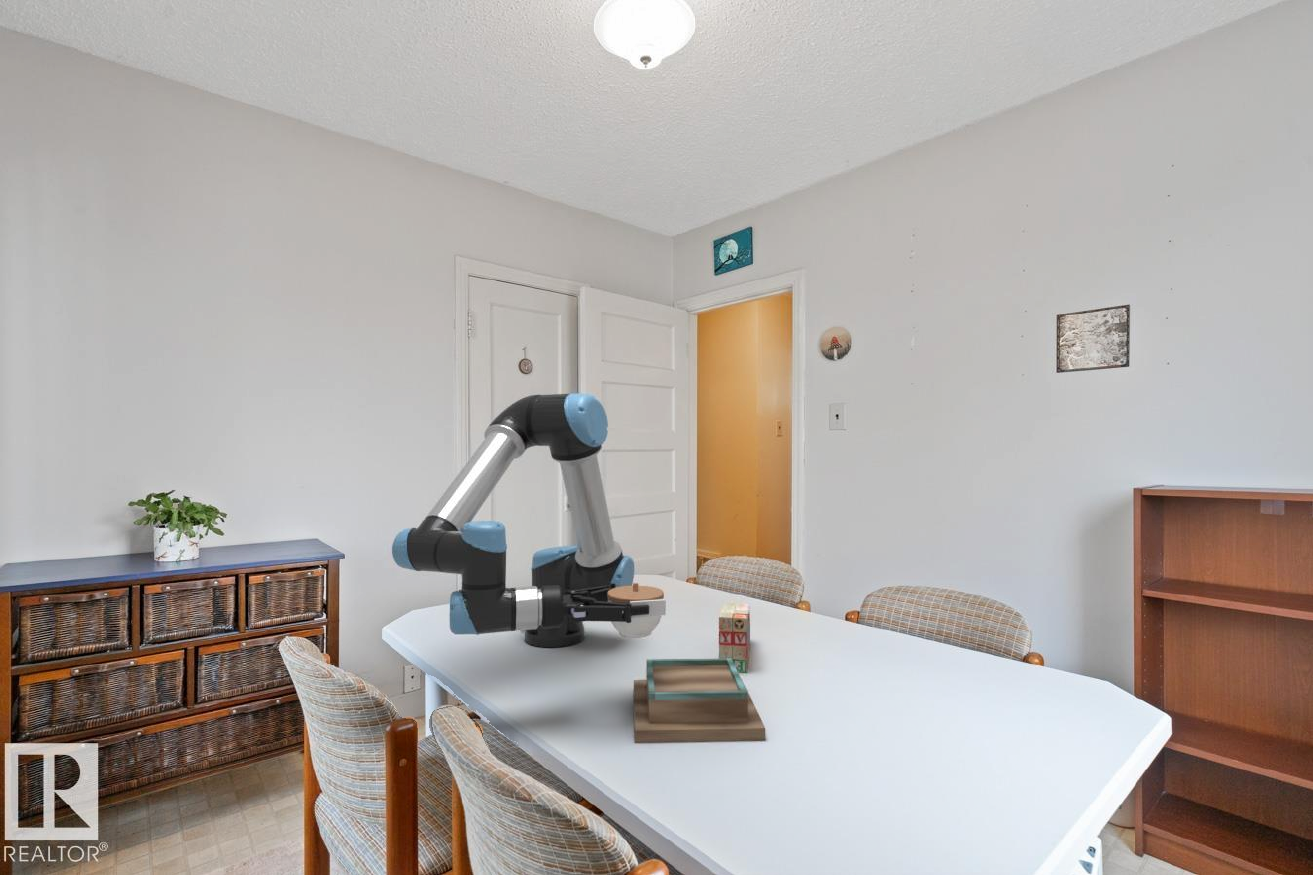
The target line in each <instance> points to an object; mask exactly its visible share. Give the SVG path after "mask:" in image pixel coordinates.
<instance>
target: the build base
mask: <svg viewBox="0 0 1313 875" xmlns="http://www.w3.org/2000/svg"><path fill="white" fill-rule="evenodd" d="M645 665H646V670H645V672H646V676H645V677H646V679H634V680H633V716H634V717H633V719H634V720H633V722H634V723H633V724H634V725H633V726H634V727H633V728H634V729H633V730H634V743H635V744H636V743H639V744H641V743H643V744H644V743H676V742H678V743H684V742H685V743H690V742H692V743H693V742H696V743H697V742H736V741H737V742H740V741H743V742H744V741H766V727H765V725H764V722H763V721H762V718H761V717H760V715H759V711H758V710H757V708H756V705H755V704H754V702H753V699H752V697H751V695H750V694H749V691H748V690H747V687H746V685H745V683H744V681H743V678H742V677H741V675H740V673H738V671H737V669H736V667H735V665H734V663H733V661H732V659H731V658H722V659H719V658H666V659H665V658H663V659H662V658H659V659H658V658H656V659H646V663H645Z"/></svg>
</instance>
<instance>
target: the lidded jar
mask: <svg viewBox="0 0 1313 875" xmlns="http://www.w3.org/2000/svg"><path fill="white" fill-rule="evenodd" d="M664 597H665V592H664V591H663V589H660V588H657V587H654V586H649V585H639V582H633V584H632V586H622V587H617V588H613V589H611V590H609V591H608V592H607V598H608V602H617V603H629V604H630V601H644V600H658V599H665V598H664ZM622 613H623V611H622ZM662 616H663V615H659V616H645V617H632V618H631V623H627V622H611V624H612V627H614V629H615V630H616V631H617V632H618V633H619V635H620V636H622V637H624V638H629V639H630V638H631V639H632V638H634V639H638V638H639V639H641V638H645V637H649V636H651V635H652V632H653V631H654V630H655V629H656V628H657V627H658V625H659V624H660V621H661V619H662Z"/></svg>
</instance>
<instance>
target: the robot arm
mask: <svg viewBox="0 0 1313 875" xmlns="http://www.w3.org/2000/svg"><path fill="white" fill-rule="evenodd" d="M608 427H609V423H608V417H607V413H606V410H605V408H604V405H603V404H602V403H601V401H600V400H599V399H598V398H596V397H595V396H594V395H592V394H589V393H579V392H572V393H559V394H558V393H554V394H532V395H531V394H530V395H529V396H524V397H522V398H520V399H518V400H517V401H515V402H514V403H512V404H510V405H509V406H507V407H506V408H505V409H504V410H502V412H500V413H499V414H498V415H497V416H496V417H495V418H494V420H492V422H491V423H490V424H489V425H488V427H487V428H486V429H485V431H484V440H483V441H482V442H481V444H480V445H479V446H478V448H477V449H476V450H475V451H474V453H473V455H472V456H471V457H470V458H469V459H468V461H467V462H466V463H465V465H464V466H463V468H462V469H461V470H460V471H459V473H458V474H457V476H456V477H455V478H454V479H453V480H452V482H451V484H450V485H449V486H448V487H447V488H446V490H445V491H444V493H443V494H442V496H441V497H440V498H439V499H438V501H437V502H436V503H435V504H434V506H433V507H432V509H431V510H430V511H429V512H428V513H427V515H426V516H425V518H424V519H423V521H422V522H421V523H420V524H419V526H418V527H411V528H409V527H408V528H405V529H403V530H401V531H399V532H398V533H397V535H396V536H395V538H394V539H393V542H392V546H391V555H392V558H393V560H394V563H395V564H396V565H397V566H399V567H401V568H402V569H408V570H411V571H416V572H434V573H446V574H454V575H461V589H459V590H455V591H452V592H451V594H450V597H449V629H450V632H451V633H452V634H453V635H476V636H479V635H482V634H484V635H485V634H493V633H502V632H503V633H504V632H515V631H516V632H517V631H519V632H520V633H521V634H524V641H525V643H527V644H528V645H530V646H534V647H539V648H561V647H568V646H572V645H575V644H578V643H580V642H581V641H583V640H584V639H585V625H584V623H583V622H627V623H631V618H632V617H645V616H659V615H662V616H666V614H667V611H666V607H667V606H666V605H667V604H666V603H667V602H666V601H667V600H666V599H665V598H663V599H658V600H644V601H630V604H629V603H617V602H608V598H607V592H608V591H609V590H611V589H613V588H617V587H622V586H633V583H634V578H635V561H634V559H633V558H632V557H631V556H629V555H624V553H623V549H622V545H621V544H620V543H619V542H618V541H615V540H614V534H613V530H612V525H611V524H612V523H611V521H610V520H611V519H610V515H609V509H608V505H607V500H606V495H605V490H604V484H603V480H602V479H603V478H602V474H601V469H600V466H599V465H600V464H599V459H598V454H599V453H600V452H601V451H602V448H603V447H602V445H603V444H604V443H605V441H606V440H607V437H608ZM537 446H539V447H548V448H549V451H550V456H551V458H552V460H554V461H555V462H557V463H559V465H560V470H561V472H562V473H561V475H562V478H563V482H564V487H565V492H566V497H567V500H568V504H569V505H568V506H569V509H570V513H571V518H572V522H573V527H574V531H575V535H576V536H575V537H576V541H577V545H578V546H577V545H562V546H554V547H548V548H544V549H541V550H537V551H536V552H535V553H534V554H533V555H532V559H531V560H532V561H531V562H532V563H531V569H530V570H531V586H518V587H506V584H507V583H506V580H507V578H506V576H507V575H506V574H507V548H508V545H507V539H506V538H507V537H506V527H505V525H504V524H503V523H502V522H500V521H494V520H476V521H473V520H474V518H475V516H476V515H477V514H478V512H479V511H480V509H481V508H482V506H483V505H484V503H485V502H486V501H487V499H488V497H489V496H490V495H491V493H492V491H493V490H494V488H495V487H496V486H497V484H498V483H499V481H500V480H501V478H502V477H503V475H504V474H505V473H506V472H507V470H508V469H509V467H510V465H511V464H512V463H513V461H514V459H518V458H519V459H520V457H522V456H523V455H524V453H525V452H526V450H528V449H529V448H531V447H537ZM622 611H623V613H622Z"/></svg>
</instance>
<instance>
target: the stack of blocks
mask: <svg viewBox="0 0 1313 875" xmlns="http://www.w3.org/2000/svg"><path fill="white" fill-rule="evenodd" d="M750 612H751V610H750V606H749V603H745V602H744V603H743V602H741V603H739V602H736V603H735V602H723V603H722V606H721V610H720V613H719V615H718V659H722V658H731V659H732V661H733V663H734V665H735V667H736V669H737V671H738V673H739V674H747V673H748V667H749V659H750V657H749V656H750V654H749V652H750V648H751V617H750V616H751V613H750Z"/></svg>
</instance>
